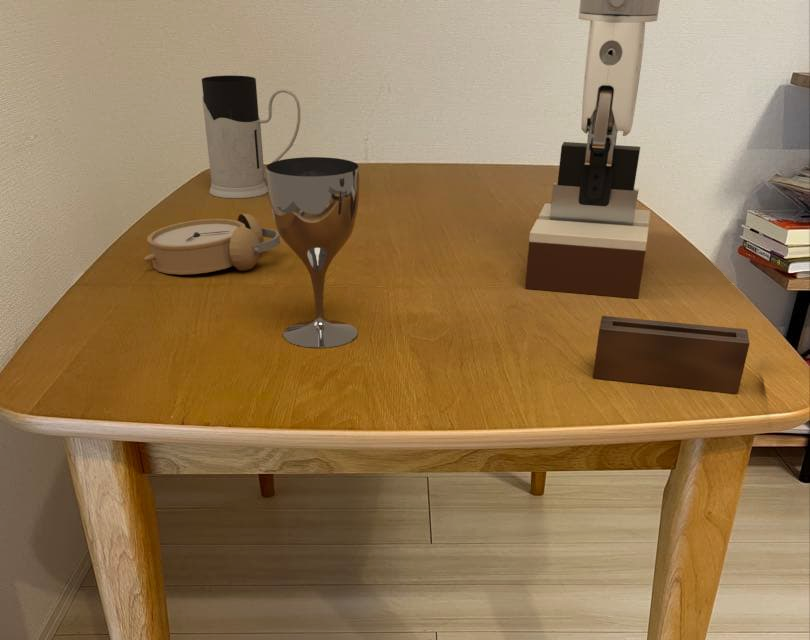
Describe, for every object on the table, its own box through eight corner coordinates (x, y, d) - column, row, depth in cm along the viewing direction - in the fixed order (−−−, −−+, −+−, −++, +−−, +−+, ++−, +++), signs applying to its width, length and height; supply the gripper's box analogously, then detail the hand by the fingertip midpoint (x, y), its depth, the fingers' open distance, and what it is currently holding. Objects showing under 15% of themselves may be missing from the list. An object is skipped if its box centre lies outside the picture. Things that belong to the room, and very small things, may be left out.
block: (735, 379, 76) (747, 328, 73) (737, 394, 73) (749, 342, 71) (595, 364, 78) (602, 315, 76) (592, 378, 76) (599, 328, 73)
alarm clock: (153, 224, 105) (276, 199, 104) (166, 264, 108) (286, 241, 107) (135, 251, 96) (270, 225, 95) (150, 295, 98) (281, 269, 98)
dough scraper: (627, 257, 98) (645, 146, 92) (627, 263, 97) (644, 150, 90) (547, 250, 100) (558, 141, 93) (545, 255, 98) (556, 144, 92)
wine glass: (275, 349, 81) (261, 176, 72) (282, 319, 87) (270, 156, 79) (361, 349, 81) (358, 176, 72) (362, 318, 87) (359, 157, 79)
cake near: (639, 282, 97) (648, 227, 94) (637, 298, 93) (647, 241, 90) (532, 273, 100) (536, 218, 96) (524, 288, 95) (529, 232, 92)
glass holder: (216, 184, 135) (204, 74, 127) (308, 185, 135) (302, 75, 126) (203, 197, 128) (190, 82, 120) (300, 199, 128) (293, 84, 119)
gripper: (657, 8, 77) (626, 223, 88) (661, -1, 90) (633, 187, 101) (572, 6, 79) (550, 217, 89) (587, -3, 92) (567, 183, 102)
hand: (594, 200), depth 95 cm, fingers closed on dough scraper, 2 cm apart
